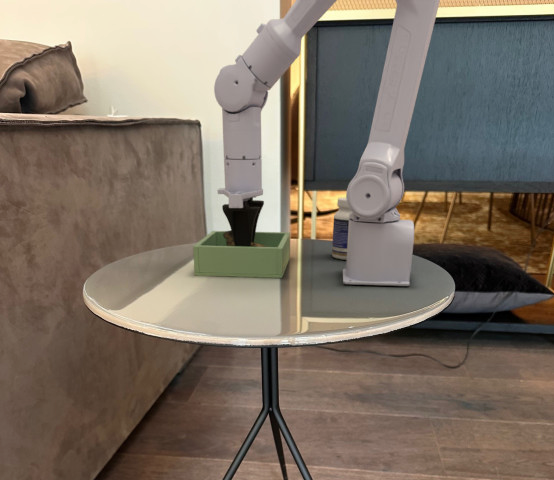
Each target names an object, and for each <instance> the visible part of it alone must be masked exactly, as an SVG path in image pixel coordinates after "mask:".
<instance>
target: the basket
mask: <svg viewBox="0 0 554 480" xmlns="http://www.w3.org/2000/svg"><path fill="white" fill-rule="evenodd" d="M225 231H226V230H212V231H211V232H209V233H208V234H207V235H205V236H204V237H203V238H201V239H200V240H199V241H198V242H196V244H194V245H193V246H192V252H193V268H194V269H193V271H194V276H199V277H200V276H201V277H203V276H204V277H232V278H233V277H235V278H269V279H283V277H284V274H285V272H286V269H287V267H288V264H289V261H290V258H291V256H290V255H291V254H290V253H291V249H290V248H291V233H290V232H289V231H288V232H285V231H281V232H280V231H279V232H278V231H256V233H255V239H254V243H258V244H261V245H265V246H267V247H243V246H227V244H226V239H225V238H224V236H223V234H224V233H225Z"/></svg>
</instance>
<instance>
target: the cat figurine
mask: <svg viewBox="0 0 554 480" xmlns="http://www.w3.org/2000/svg"><path fill="white" fill-rule="evenodd" d="M224 231H225V233H224V234H223V236H224V238H225V239H226V244H227V246H235V244H234V240H233V235H232V231H231V229H230V230H224ZM251 247H267V246H265V245H261V244H258V243H252V242H251Z"/></svg>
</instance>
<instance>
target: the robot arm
mask: <svg viewBox="0 0 554 480" xmlns="http://www.w3.org/2000/svg"><path fill="white" fill-rule="evenodd" d="M337 1H338V0H295V1H294V3H292V6H290V8H289V9H288V11H287V13H286V14H285V15H284V16H283V17H282V18H273V19H269V21H267V23H266V24H265V23H260V25H259V26H258V27H257V28H256V29H255V30H256V33H257V36H256V37H255V38H254V39H253V41H252V42H251V43H250V45H249V46H248V47H247V49H246V50H245V51H244V52H243V53H242V55H241V54H238V56H236V58H235V59H234V62H235V63H234V64H228V65H225V66H223V67H221V69H220V70H219V73H218V75H217V76H216V78H215V80H214V85H213V89H214V90H213V93H214V97H215V100H216V102H217V103H218V105H219V106H220V107H221V111H222V112H221V114H222V115H221V116H222V141H223V142H222V143H223V165H224V166H223V168H224V171H223V172H224V187H222V188H218V189H217V195H224V197H225V196H226V197H227V198H228V203H224V204H223V205H221V206H222V213H223V214H224V215H225V218H226V220H227V222H228V224H229V227H230V230H231V231H232V235H233V240H234V244H235V246H243V247H251V242H252V243H254V239H255V233H256V232H257V226H258V220H259V218H260V214H261V212H262V210H263V207H264V205H265V201H264V200H261V199H259V200H257V199H256V198H257V197H260V196H263V195H264V189H263V183H262V182H263V180H262V178H263V177H262V175H263V172H262V168H263V167H262V161H263V160H262V111H263V109H264V108H265V106H266V104H267V101H268V97H269V91H270V90H271V89H272V88H273V87H274V86H275V85H276V83H277V82H278V81H279V80H280V79H281V78H282V76H284V75H285V73H286V72H287V71H288V69H289V68H290V67H291V66H292V65H293V63H295V61H296V60H297V59H298V58H299V56H300V55H301V52H302V51H301V50H302V49H301V47H302V39H303V37H304V36H305V35H306V34H307V33H308V32H309V31H310V30H311V29H312V28H313V27H314V26H315V25H316V23H317V22H319V20H321V18H322V17H323V16H324V15H325V14H326V13H327V12H328V11H329V10H330V9H331V7H333V6H334V4H335V3H336V2H337ZM394 1H395V3H396V8H395V12H394V17H393V21H392V22H393V24H392V27H391V32H390V37H389V42H388V46H387V51H386V56H385V60H384V66H383V70H382V74H381V79H380V84H379V89H378V93H377V98H376V103H375V108H374V112H373V118H372V123H371V127H370V132H369V135H368V136H369V137H368V141H367V145H366V147H365V149H364V151H363V153H362V155H361V158H360V160H359V164H358V167H357V171H356V173H355V175H354V176H353V178H352V179H351V180H350V181H349V183H348V185H347V188H346V193H345V198H346V199H347V204H348V206H349V208H350V210H351V211H352V213H351V214H349V228H348V245H347V260H346V265H345V268H343V269H342V284H343V285H356V286H390V287H391V286H393V287H409V286H410V285H411V283H410V278H411V271H412V260H413V251H414V241H415V224H414V221H413V220H412V219H401V213H399V211H398V209H397V206H398V205H399V204H400V203H401V201H402V199H403V197H404V193H405V183H404V179H403V171H404V166H405V147H406V144H407V139H408V135H409V130H410V127H411V122H412V117H413V114H414V109H415V105H416V101H417V97H418V92H419V89H420V84H421V80H422V76H423V73H424V69H425V64H426V60H427V57H428V51H429V49H430V48H429V47H430V43H431V40H432V35H433V30H434V26H435V22H436V18H437V14H438V10H439V6H440V1H441V0H394ZM254 198H255V200H254Z"/></svg>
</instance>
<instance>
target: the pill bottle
mask: <svg viewBox="0 0 554 480" xmlns="http://www.w3.org/2000/svg"><path fill="white" fill-rule="evenodd" d="M336 206H337V207H338V210H337V211H336V212H335V213H334V215H333V224H332V225H333V227H332V243H331V255H332V257H333V258H334V259H338V260H341V261H342V260H343V261H347V245H348V228H349V214H351V213H352V211H351V210H350V208H349V206H348V204H347V199H346V197H339V198H337V205H336Z"/></svg>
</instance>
